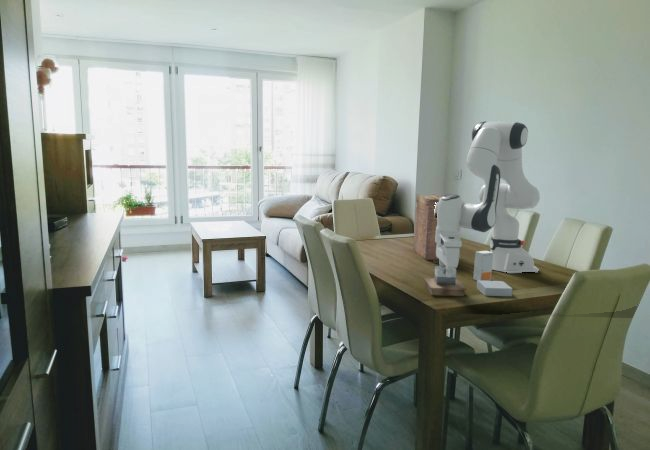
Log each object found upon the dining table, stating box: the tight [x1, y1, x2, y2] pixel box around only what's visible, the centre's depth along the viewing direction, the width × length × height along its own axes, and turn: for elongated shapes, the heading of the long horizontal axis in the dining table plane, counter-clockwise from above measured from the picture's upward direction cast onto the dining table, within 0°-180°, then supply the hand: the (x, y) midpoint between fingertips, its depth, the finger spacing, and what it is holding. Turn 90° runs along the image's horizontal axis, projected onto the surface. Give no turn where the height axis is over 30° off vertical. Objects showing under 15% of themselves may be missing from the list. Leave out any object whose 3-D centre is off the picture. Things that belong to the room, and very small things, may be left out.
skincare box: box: [472, 250, 493, 281], centre depth 196 cm, size 6×4×12 cm
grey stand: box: [476, 280, 513, 297], centre depth 180 cm, size 10×10×3 cm
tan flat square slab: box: [423, 277, 467, 297], centre depth 180 cm, size 13×13×3 cm
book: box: [413, 194, 441, 261], centre depth 241 cm, size 25×9×30 cm, turn 2°
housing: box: [433, 265, 457, 285], centre depth 179 cm, size 7×4×6 cm, turn 89°
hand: (445, 273), depth 179 cm, fingers open, 8 cm apart
